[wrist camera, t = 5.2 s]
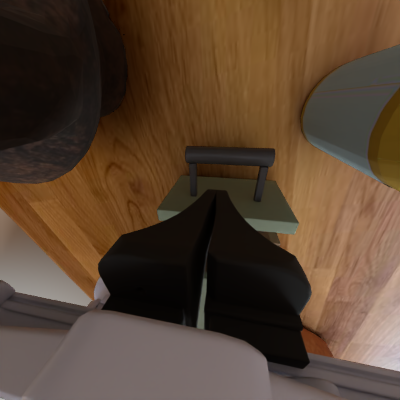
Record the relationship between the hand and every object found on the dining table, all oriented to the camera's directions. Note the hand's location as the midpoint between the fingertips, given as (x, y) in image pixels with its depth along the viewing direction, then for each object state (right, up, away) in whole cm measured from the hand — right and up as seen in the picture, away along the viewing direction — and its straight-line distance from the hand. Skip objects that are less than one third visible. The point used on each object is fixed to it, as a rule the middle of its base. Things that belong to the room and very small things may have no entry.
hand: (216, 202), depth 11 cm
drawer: (+2, -1, +11) cm, 11 cm away
